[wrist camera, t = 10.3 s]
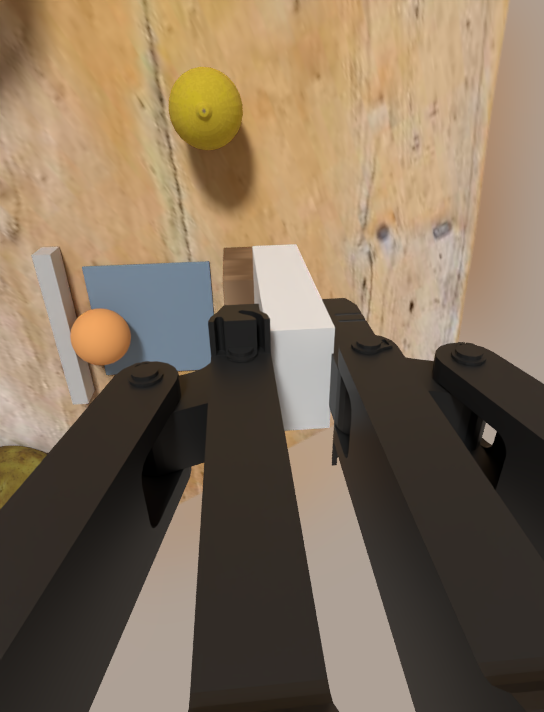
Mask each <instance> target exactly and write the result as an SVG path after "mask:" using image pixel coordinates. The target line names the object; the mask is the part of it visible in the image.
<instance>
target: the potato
mask: <svg viewBox="0 0 544 712" xmlns="http://www.w3.org/2000/svg"><path fill="white" fill-rule="evenodd" d="M46 456H47V454H46V453H44V452H42V451H39V450H36V449H32V448H28V447H23V446H2V447H0V509H1V508H2V507H3V506H4V505H5V503H6V502H7V501H8V500H9V499H10V498H11V496H12V495H13V494H14V493H15V492H16V491H17V489H18V488H19V487H20V486H21V485H22V484H23V482H24V481H25V480H26V479H27V478H28V477H29V475H30V474H31V473H32V472H33V471H34V470H35V468H36V467H37V466H38V465H39V464H40V463H41V461H42V460H43V459H44V458H45V457H46Z"/></svg>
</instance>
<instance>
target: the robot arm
mask: <svg viewBox="0 0 544 712" xmlns="http://www.w3.org/2000/svg"><path fill="white" fill-rule="evenodd" d="M252 252H253V278H254V304H239V305H224V306H223V307H222V308H221V309H220V310H219V311H218V312H217V313H216V314H214V315H213V316H211V317H210V319H209V321H208V329H209V340H210V351H211V362H210V363H209V364H208V365H207V366H205V367H204V368H202V369H200V370H198V371H195V372H192V373H188V374H184V375H180V376H179V374H178V372H177V370H176V368H175V367H174V366H172V365H170V364H168V363H164V362H158V361H154V362H150V361H145V362H142V363H140V362H139V363H136V364H133V365H131V366H129V367H127V368H124V369H122V370H121V371H120V372H119V373H117V374H116V375H115V376H114V377H113V379H112V380H111V381H110V382H109V383H108V384H107V386H106V387H105V388H104V389H103V390H102V391H101V393H100V394H99V395H98V396H97V397H96V398H95V400H94V401H93V402H92V403H91V404H90V405H89V407H88V408H87V409H86V410H85V411H84V412H83V414H82V415H81V416H80V417H79V418H78V419H77V421H76V422H75V423H74V424H73V425H72V426H71V428H70V429H69V430H68V431H67V432H66V433H65V435H64V436H63V437H62V438H61V439H60V440H59V442H58V443H57V444H56V445H55V446H54V447H53V449H52V450H51V451H50V452H49V453H48V454H47V456H46V457H45V458H44V459H43V460H42V461H41V463H40V464H39V465H38V466H37V467H36V468H35V470H34V471H33V472H32V473H31V474H30V475H29V477H28V478H27V479H26V480H25V481H24V482H23V484H22V485H21V486H20V487H19V488H18V489H17V491H16V492H15V493H14V494H13V495H12V496H11V498H10V499H9V500H8V501H7V502H6V503H5V505H4V506H3V507H2V508H1V509H0V712H89V710H90V707H91V705H92V703H93V700H94V698H95V696H96V693H97V691H98V689H99V686H100V684H101V682H102V680H103V677H104V675H105V672H106V670H107V668H108V666H109V663H110V661H111V659H112V656H113V654H114V652H115V649H116V647H117V645H118V642H119V640H120V638H121V635H122V633H123V631H124V629H125V626H126V624H127V622H128V619H129V617H130V615H131V612H132V610H133V608H134V605H135V603H136V601H137V598H138V596H139V594H140V591H141V589H142V587H143V584H144V582H145V580H146V577H147V575H148V573H149V571H150V568H151V566H152V564H153V561H154V559H155V557H156V554H157V552H158V550H159V547H160V545H161V543H162V540H163V538H164V536H165V534H166V531H167V529H168V527H169V524H170V522H171V520H172V517H173V515H174V513H175V510H176V508H177V506H178V503H179V501H180V499H181V496H182V494H183V492H184V489H185V487H186V485H187V483H188V480H189V478H190V474H191V466H194V465H198V464H201V463H204V478H203V494H202V512H201V528H200V543H199V560H198V575H197V591H196V608H195V623H194V624H195V625H194V641H193V656H192V672H191V688H190V701H189V710H188V712H339V711H338V709H337V708H336V706H335V705H334V704H333V701H332V697H331V694H330V689H329V684H328V679H327V673H326V668H325V662H324V656H323V651H322V645H321V639H320V633H319V627H318V622H317V616H316V610H315V604H314V599H313V593H312V587H311V581H310V576H309V570H308V564H307V558H306V552H305V547H304V541H303V535H302V529H301V524H300V518H299V512H298V506H297V501H296V495H295V489H294V483H293V478H292V472H291V466H290V460H289V454H288V449H287V443H286V437H285V431H287V430H302V429H317V428H329V426H330V410H331V413H332V416H333V419H334V434H333V451H332V465H337V464H336V463H337V458H338V457H339V461H340V464H341V467H342V470H343V474H344V477H345V480H346V484H347V487H348V490H349V494H350V497H351V500H352V503H353V507H354V510H355V513H356V516H357V520H358V523H359V526H360V530H361V533H362V536H363V540H364V543H365V546H366V549H367V553H368V556H369V559H370V562H371V566H372V569H373V573H374V576H375V579H376V582H377V586H378V589H379V592H380V596H381V599H382V602H383V606H384V609H385V612H386V615H387V619H388V622H389V625H390V629H391V632H392V635H393V638H394V642H395V645H396V648H397V652H398V655H399V658H400V661H401V665H402V668H403V671H404V674H405V678H406V681H407V684H408V688H409V691H410V694H411V698H412V701H413V704H414V707H415V711H416V712H544V384H543V383H541V382H540V381H538V380H537V379H535V378H533V377H532V376H530V375H529V374H527V373H525V372H524V371H522V370H521V369H519V368H518V367H516V366H514V365H513V364H511V363H509V362H508V361H507V360H505V359H503V358H502V357H500V356H499V355H497V354H495V353H494V352H492V351H490V350H488V349H485V348H484V347H480V346H477V345H474V344H472V343H466V344H465V343H463V342H458V343H450V344H446V345H443V346H440V347H439V348H438V349H437V350H436V353H435V358H434V361H428V360H419V359H412V358H406V357H405V356H404V355H403V354H402V352H401V351H400V349H399V348H398V346H397V345H396V344H395V343H394V342H393V341H391V340H389V339H387V338H385V337H382V336H377V335H375V334H374V332H373V331H372V329H371V328H370V326H369V324H368V323H367V321H365V318H364V316H363V315H362V314H361V312H360V310H359V308H358V307H357V305H356V304H354V303H352V302H351V301H349V300H347V299H346V298H337V299H321V297H320V295H319V292H318V290H317V288H316V286H315V284H314V282H313V280H312V277H311V275H310V273H309V271H308V269H307V267H306V265H305V262H304V260H303V258H302V256H301V254H300V252H299V250H298V247H297V245H296V244H294V245H269V246H252ZM486 423H488V424H489V425H490V426H491V427H492V428H494V429H495V430H496V431H497V433H496V436H495V440H494V443H493V444H492V445H491V444H489V443H488V442H486V441H485V440H484V439H483V438H482V435H483V432H484V427H485V424H486Z"/></svg>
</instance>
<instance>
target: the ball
mask: <svg viewBox="0 0 544 712" xmlns="http://www.w3.org/2000/svg"><path fill="white" fill-rule="evenodd" d="M70 339H71V344H72V347H73V349H74V351H75V352H76V354H77V355H78V356H79V357H80V358H81V359H83V360H84V361H86V362H88V363H91V364H94V365H108V364H112V363H114V362H116V361H118V360H119V359H121V358H122V357H123V356H124V355H125V353H126V352H127V350H128V348H129V346H130V342H131V333H130V329H129V326H128V324H127V323H126V321H125V320H124V319H123V317H121V316H120V315H119V314H117V313H116V312H114V311H111V310H108V309H102V308H99V309H92V310H89V311H87V312H85V313H83V314H82V315H80V316H79V317H78V318H77V319H76V321H75V322H74V324H73V326H72V329H71V333H70Z"/></svg>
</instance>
